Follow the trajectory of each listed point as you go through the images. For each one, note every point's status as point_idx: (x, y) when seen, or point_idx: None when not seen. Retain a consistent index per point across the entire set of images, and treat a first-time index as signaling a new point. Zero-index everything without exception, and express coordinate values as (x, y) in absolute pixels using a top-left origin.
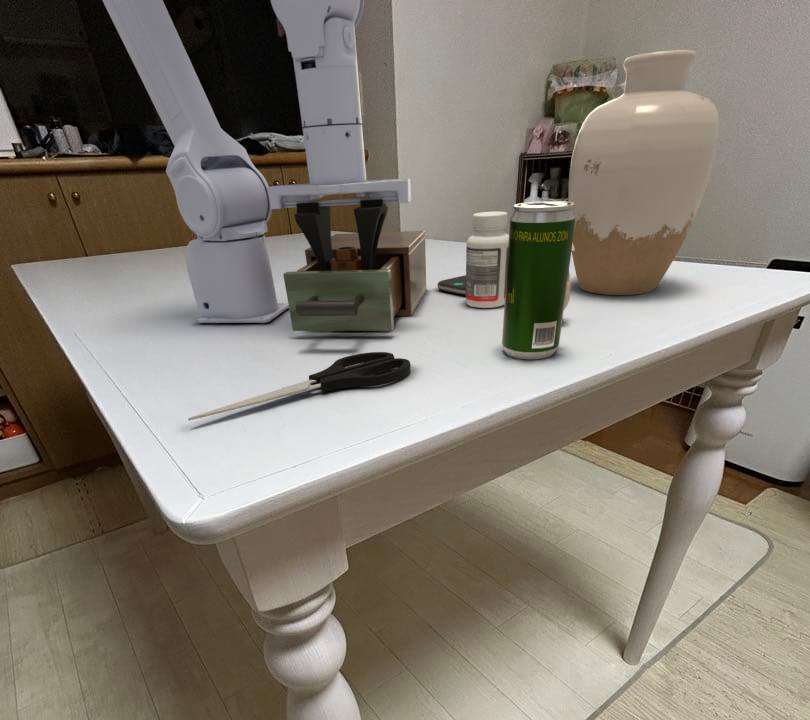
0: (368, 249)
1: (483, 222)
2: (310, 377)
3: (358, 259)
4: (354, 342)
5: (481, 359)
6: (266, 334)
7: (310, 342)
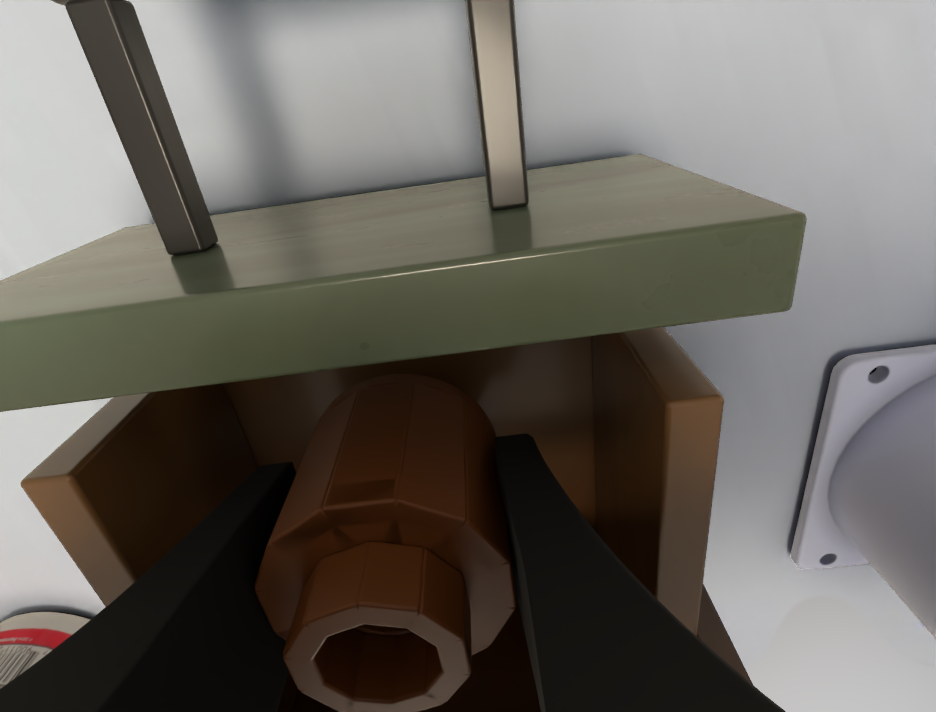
0: (106, 613)
1: None
2: None
3: (275, 579)
4: (298, 140)
5: None
6: (802, 207)
7: (524, 106)
